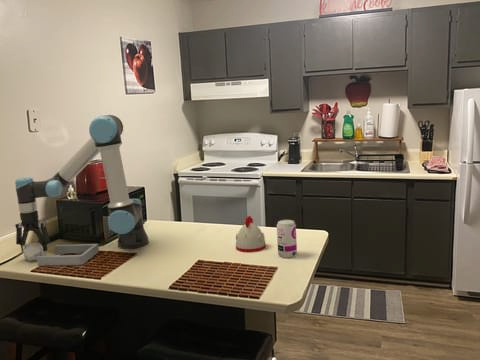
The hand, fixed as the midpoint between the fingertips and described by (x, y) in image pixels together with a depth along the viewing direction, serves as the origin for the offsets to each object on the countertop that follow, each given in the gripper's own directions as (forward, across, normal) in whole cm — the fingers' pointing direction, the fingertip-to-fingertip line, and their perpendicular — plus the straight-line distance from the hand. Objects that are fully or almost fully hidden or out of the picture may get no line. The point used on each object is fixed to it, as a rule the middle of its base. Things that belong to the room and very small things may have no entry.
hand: (35, 257), depth 210 cm
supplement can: (+1, -118, +3) cm, 118 cm away
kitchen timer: (+1, -101, -9) cm, 101 cm away
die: (+1, 0, 0) cm, 1 cm away
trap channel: (+1, -16, 0) cm, 16 cm away
